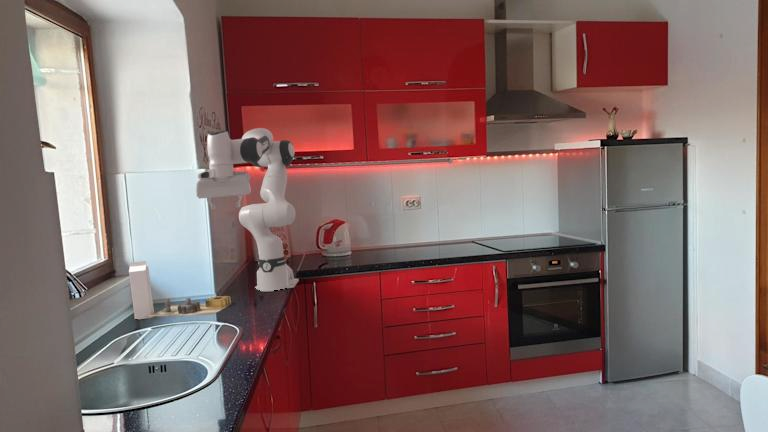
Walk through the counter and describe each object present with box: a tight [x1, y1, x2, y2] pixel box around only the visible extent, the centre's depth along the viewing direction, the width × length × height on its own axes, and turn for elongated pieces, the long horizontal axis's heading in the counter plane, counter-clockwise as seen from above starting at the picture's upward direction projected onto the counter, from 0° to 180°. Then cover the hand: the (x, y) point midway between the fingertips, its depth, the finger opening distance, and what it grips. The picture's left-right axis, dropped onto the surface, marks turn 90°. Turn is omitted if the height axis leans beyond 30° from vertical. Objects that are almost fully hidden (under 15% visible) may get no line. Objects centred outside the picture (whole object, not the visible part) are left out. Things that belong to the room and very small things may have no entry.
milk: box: [128, 260, 155, 320], centre depth 201 cm, size 6×6×22 cm
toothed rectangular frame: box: [205, 295, 232, 308], centre depth 204 cm, size 6×8×3 cm
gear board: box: [147, 297, 232, 319], centre depth 201 cm, size 15×27×6 cm, turn 79°
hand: (225, 208), depth 201 cm, fingers open, 8 cm apart
